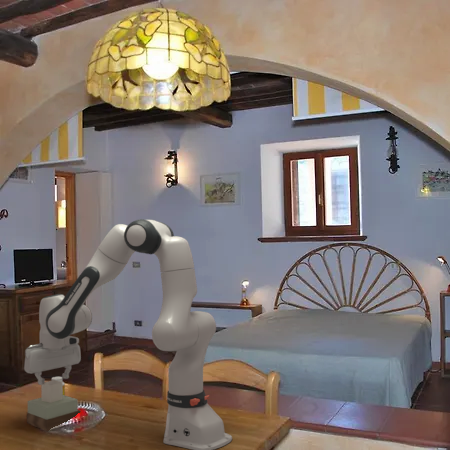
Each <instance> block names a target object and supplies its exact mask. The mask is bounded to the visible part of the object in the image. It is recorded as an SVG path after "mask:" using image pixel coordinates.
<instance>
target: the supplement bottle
mask: <svg viewBox="0 0 450 450" xmlns="http://www.w3.org/2000/svg"><path fill="white" fill-rule="evenodd" d="M52 380H55V381H60V382H62V386H63V395H65V394H66V393H65V382H64V381H63V378H62V376H53V377H51V381H52ZM65 396H66V395H65Z"/></svg>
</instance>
